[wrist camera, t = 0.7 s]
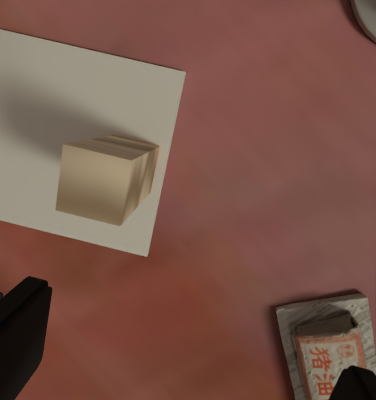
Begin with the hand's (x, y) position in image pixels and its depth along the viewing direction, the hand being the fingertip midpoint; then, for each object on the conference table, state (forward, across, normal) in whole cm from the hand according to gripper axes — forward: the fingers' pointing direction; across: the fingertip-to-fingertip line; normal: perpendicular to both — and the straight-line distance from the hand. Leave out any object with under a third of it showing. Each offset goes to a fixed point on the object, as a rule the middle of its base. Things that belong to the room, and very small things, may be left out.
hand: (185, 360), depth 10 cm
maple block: (+24, +8, 0) cm, 26 cm away
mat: (+25, +14, 0) cm, 29 cm away
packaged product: (+26, -20, +17) cm, 37 cm away
